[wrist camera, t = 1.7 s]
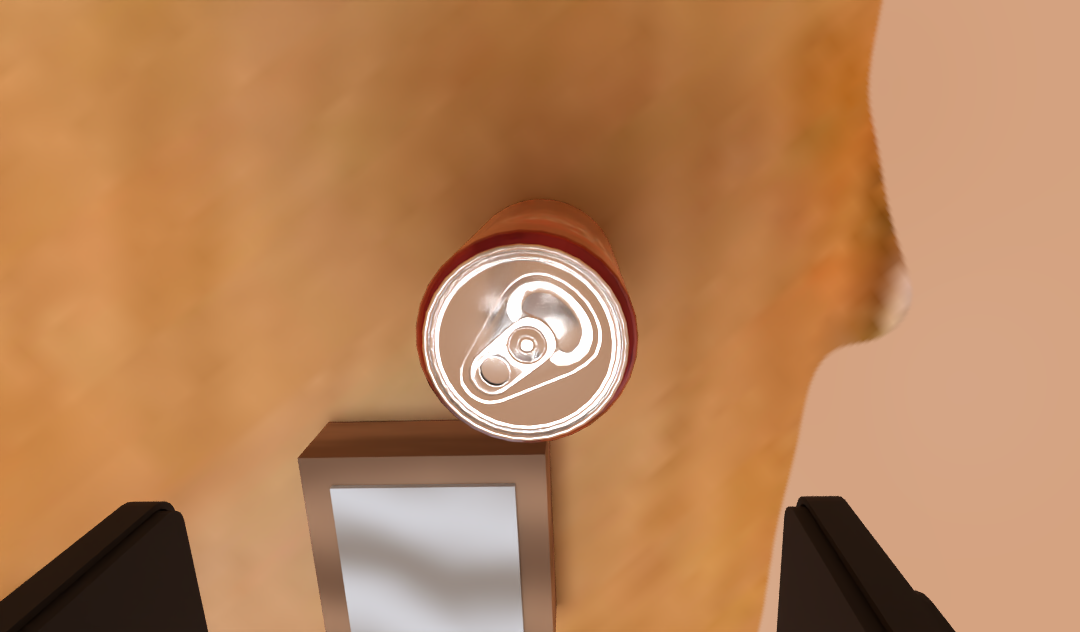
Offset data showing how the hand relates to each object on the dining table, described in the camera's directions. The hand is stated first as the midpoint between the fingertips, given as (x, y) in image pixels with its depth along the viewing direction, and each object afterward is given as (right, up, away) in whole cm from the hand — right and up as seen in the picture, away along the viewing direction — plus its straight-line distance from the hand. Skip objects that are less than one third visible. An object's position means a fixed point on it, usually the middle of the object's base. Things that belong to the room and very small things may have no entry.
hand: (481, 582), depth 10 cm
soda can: (+1, +6, +22) cm, 23 cm away
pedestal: (-4, -7, +26) cm, 27 cm away
